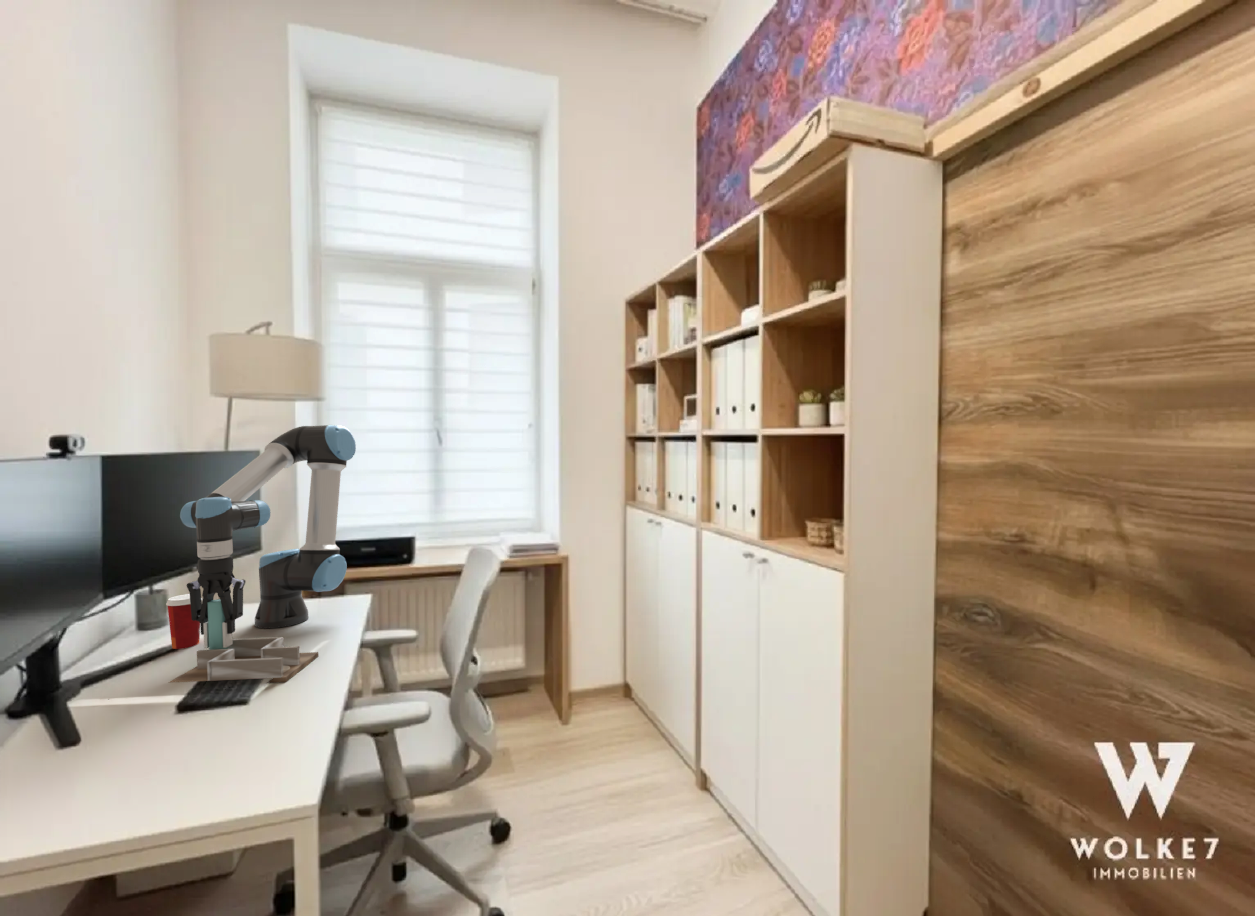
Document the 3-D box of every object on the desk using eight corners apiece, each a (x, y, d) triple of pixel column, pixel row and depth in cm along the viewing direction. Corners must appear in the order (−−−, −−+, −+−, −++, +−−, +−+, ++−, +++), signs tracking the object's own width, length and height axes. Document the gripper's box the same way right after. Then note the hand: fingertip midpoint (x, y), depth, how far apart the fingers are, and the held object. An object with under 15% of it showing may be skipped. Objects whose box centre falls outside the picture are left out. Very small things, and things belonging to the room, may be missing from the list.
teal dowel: (216, 659, 152) (213, 599, 152) (231, 658, 153) (229, 598, 152) (206, 665, 148) (203, 603, 148) (222, 664, 149) (220, 602, 148)
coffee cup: (211, 644, 168) (209, 593, 168) (186, 654, 160) (184, 600, 159) (184, 643, 169) (182, 593, 169) (159, 654, 161) (157, 600, 160)
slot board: (214, 660, 155) (213, 639, 155) (318, 656, 157) (317, 635, 156) (168, 687, 138) (167, 663, 138) (285, 682, 140) (285, 658, 140)
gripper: (170, 560, 146) (174, 652, 146) (241, 558, 147) (244, 649, 147) (191, 555, 153) (194, 642, 154) (257, 553, 154) (260, 639, 155)
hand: (218, 645), depth 150 cm, fingers closed on teal dowel, 4 cm apart
